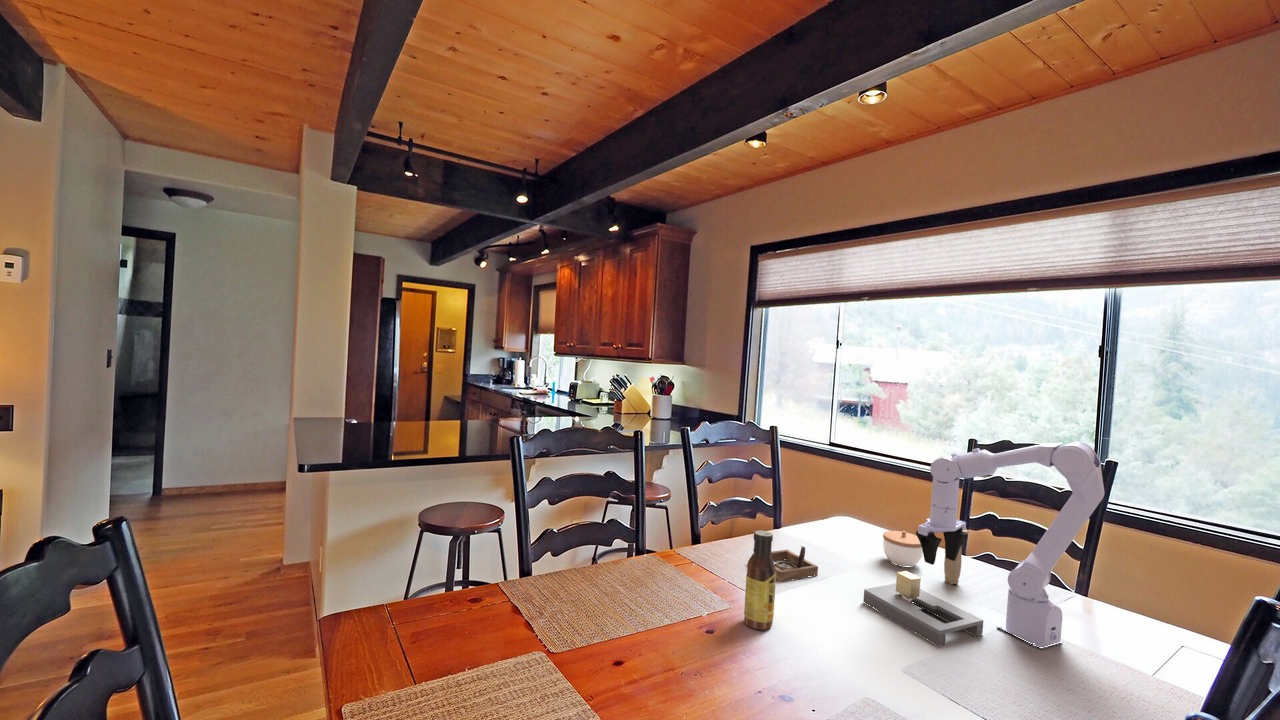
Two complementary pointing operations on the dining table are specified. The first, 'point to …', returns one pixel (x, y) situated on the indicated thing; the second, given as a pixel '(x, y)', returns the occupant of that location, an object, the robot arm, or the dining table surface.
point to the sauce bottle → (760, 583)
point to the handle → (953, 567)
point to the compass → (787, 565)
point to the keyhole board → (918, 621)
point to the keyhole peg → (908, 585)
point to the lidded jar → (902, 548)
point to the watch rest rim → (794, 573)
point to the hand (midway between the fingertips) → (939, 561)
